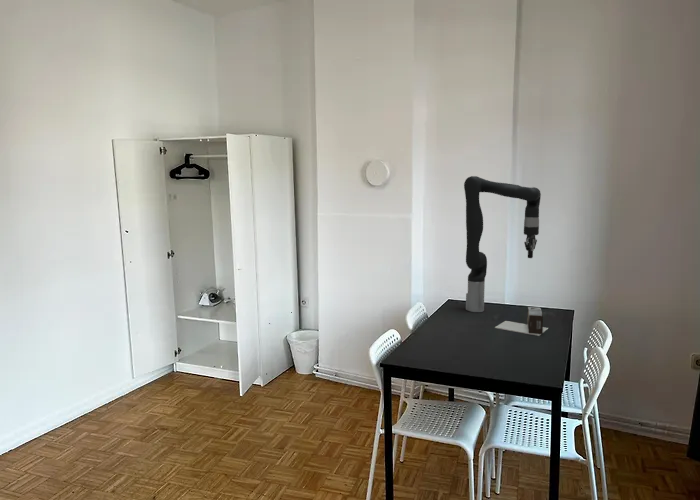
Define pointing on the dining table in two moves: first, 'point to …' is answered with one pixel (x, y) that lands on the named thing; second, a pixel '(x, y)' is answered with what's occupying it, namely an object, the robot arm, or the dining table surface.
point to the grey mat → (517, 327)
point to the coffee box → (535, 320)
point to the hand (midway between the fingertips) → (530, 257)
